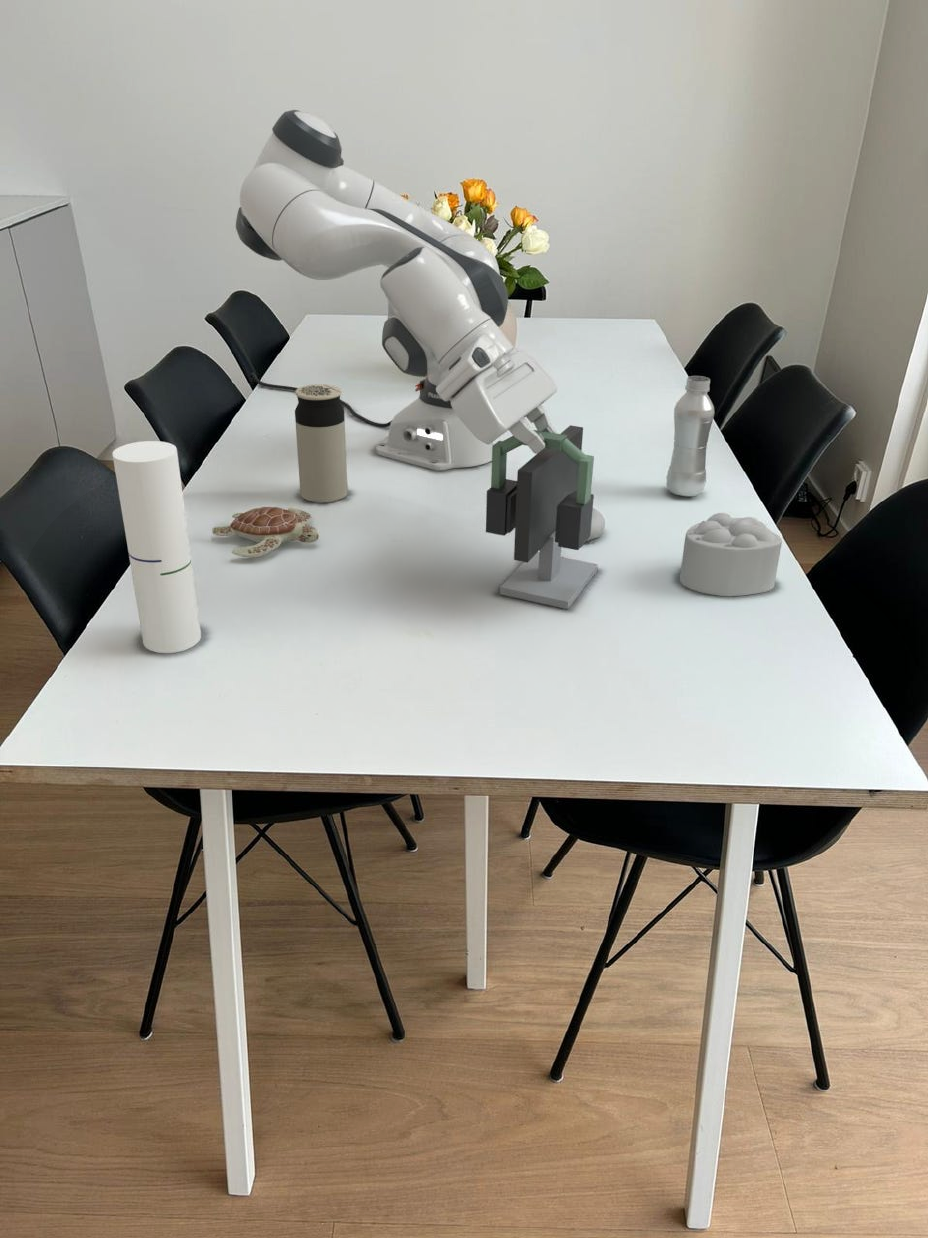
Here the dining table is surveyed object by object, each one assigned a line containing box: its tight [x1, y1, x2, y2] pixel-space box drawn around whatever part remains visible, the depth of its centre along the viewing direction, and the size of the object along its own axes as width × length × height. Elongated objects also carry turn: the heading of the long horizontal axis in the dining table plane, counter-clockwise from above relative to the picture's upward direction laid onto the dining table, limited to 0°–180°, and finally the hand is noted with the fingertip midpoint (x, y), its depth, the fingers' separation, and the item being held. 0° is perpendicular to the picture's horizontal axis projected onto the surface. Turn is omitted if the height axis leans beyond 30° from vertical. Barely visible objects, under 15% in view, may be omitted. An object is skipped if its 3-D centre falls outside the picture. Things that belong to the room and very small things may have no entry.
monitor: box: [499, 424, 599, 610], centre depth 139 cm, size 10×20×20 cm, turn 156°
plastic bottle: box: [665, 375, 715, 497], centre depth 170 cm, size 6×7×20 cm
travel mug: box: [294, 383, 349, 504], centre depth 167 cm, size 8×8×18 cm
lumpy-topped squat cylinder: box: [679, 512, 783, 597], centre depth 144 cm, size 10×13×9 cm
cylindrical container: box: [111, 440, 202, 654], centre depth 123 cm, size 7×7×25 cm
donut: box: [586, 507, 606, 542], centre depth 159 cm, size 10×4×10 cm
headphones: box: [485, 429, 595, 551], centre depth 134 cm, size 13×5×14 cm, turn 66°
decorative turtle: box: [211, 506, 320, 558], centre depth 155 cm, size 18×17×5 cm
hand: (547, 445), depth 131 cm, fingers closed on headphones, 2 cm apart
